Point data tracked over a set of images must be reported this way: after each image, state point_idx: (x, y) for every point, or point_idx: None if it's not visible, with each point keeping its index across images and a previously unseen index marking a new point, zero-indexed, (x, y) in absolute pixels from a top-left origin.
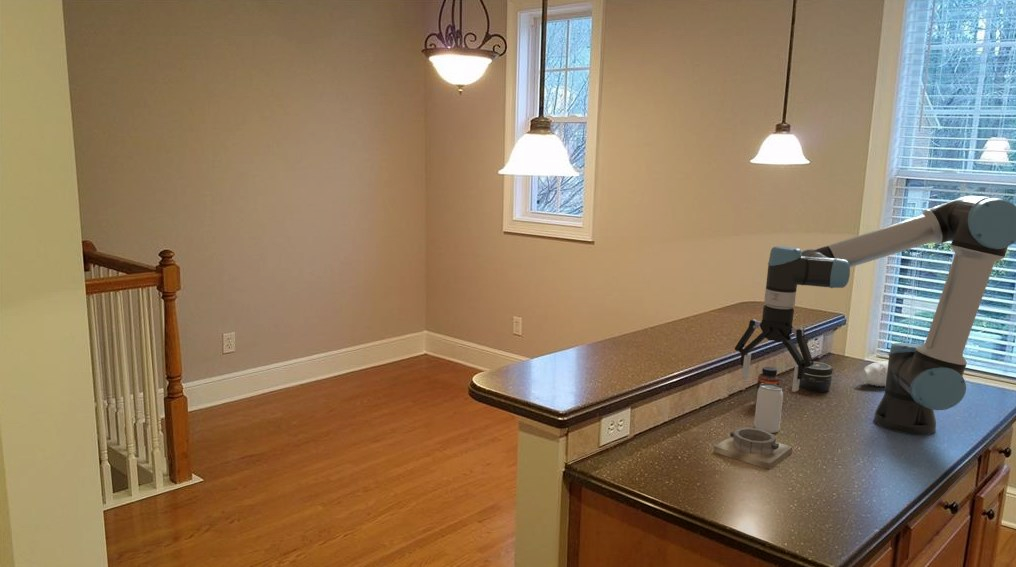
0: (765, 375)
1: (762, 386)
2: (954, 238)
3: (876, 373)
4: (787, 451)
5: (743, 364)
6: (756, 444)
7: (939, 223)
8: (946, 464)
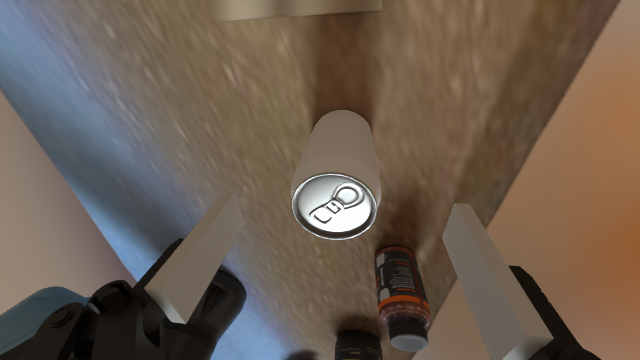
0: (411, 317)
1: (364, 199)
2: None
3: None
4: None
5: (507, 267)
6: None
7: None
8: (78, 195)
